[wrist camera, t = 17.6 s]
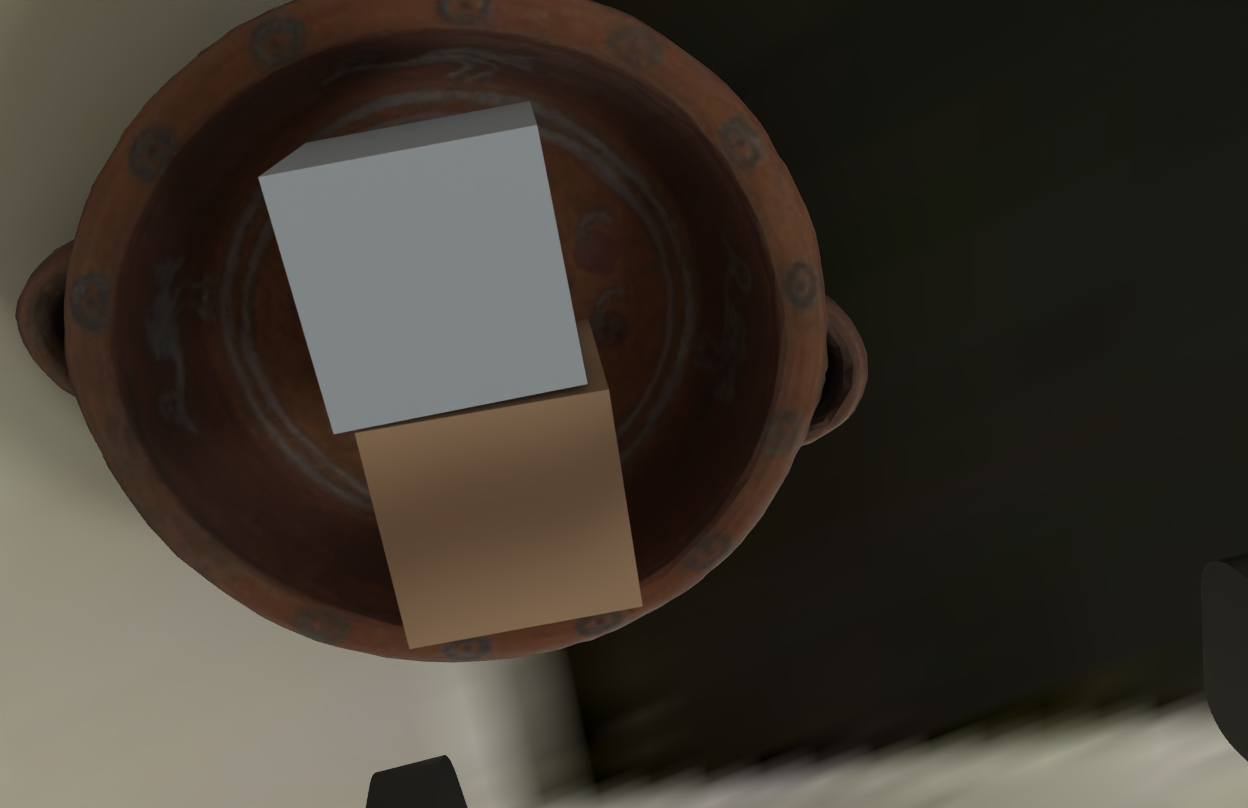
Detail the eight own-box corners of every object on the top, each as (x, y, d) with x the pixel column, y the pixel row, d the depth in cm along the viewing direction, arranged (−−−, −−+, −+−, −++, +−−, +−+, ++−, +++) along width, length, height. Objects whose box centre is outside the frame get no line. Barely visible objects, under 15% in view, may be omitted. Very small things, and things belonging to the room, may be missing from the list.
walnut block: (617, 503, 27) (642, 606, 23) (424, 538, 27) (409, 649, 22) (588, 318, 26) (609, 389, 21) (380, 353, 25) (354, 433, 21)
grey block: (571, 314, 25) (587, 384, 21) (364, 355, 25) (333, 434, 21) (529, 100, 24) (536, 124, 19) (305, 142, 23) (258, 177, 19)
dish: (20, -67, 26) (-85, -83, 21) (893, 14, 29) (970, 16, 24) (85, 570, 32) (14, 667, 27) (802, 582, 35) (849, 672, 30)
